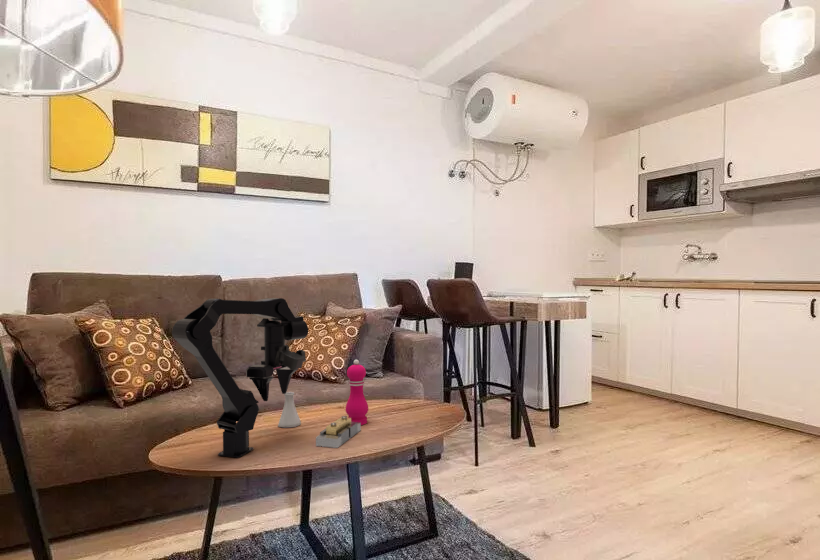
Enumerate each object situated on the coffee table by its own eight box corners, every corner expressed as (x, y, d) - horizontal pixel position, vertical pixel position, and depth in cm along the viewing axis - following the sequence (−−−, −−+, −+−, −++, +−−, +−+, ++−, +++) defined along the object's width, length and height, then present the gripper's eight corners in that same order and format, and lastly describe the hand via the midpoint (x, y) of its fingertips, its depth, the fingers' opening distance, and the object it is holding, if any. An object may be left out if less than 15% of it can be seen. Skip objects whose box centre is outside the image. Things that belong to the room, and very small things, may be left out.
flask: (304, 421, 151) (304, 390, 151) (296, 428, 143) (296, 395, 144) (282, 421, 151) (282, 390, 151) (273, 428, 144) (273, 395, 144)
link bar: (341, 428, 139) (341, 414, 139) (351, 429, 138) (351, 415, 138) (326, 439, 129) (326, 424, 129) (336, 440, 128) (336, 425, 128)
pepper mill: (365, 418, 153) (364, 357, 153) (371, 424, 146) (370, 360, 147) (343, 421, 150) (342, 358, 151) (348, 427, 144) (347, 361, 144)
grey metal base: (337, 448, 125) (337, 436, 125) (315, 446, 127) (315, 434, 127) (360, 430, 140) (360, 420, 140) (341, 428, 142) (341, 419, 142)
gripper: (281, 346, 122) (281, 407, 122) (316, 339, 140) (316, 391, 140) (244, 345, 125) (245, 404, 125) (283, 338, 143) (283, 389, 143)
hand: (275, 397), depth 133 cm, fingers open, 9 cm apart
